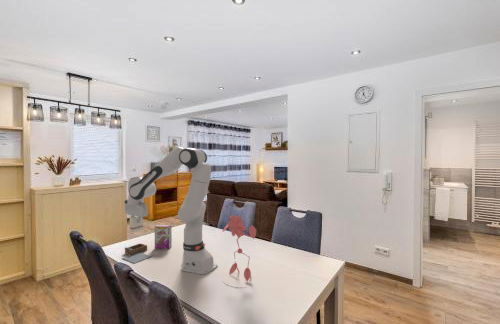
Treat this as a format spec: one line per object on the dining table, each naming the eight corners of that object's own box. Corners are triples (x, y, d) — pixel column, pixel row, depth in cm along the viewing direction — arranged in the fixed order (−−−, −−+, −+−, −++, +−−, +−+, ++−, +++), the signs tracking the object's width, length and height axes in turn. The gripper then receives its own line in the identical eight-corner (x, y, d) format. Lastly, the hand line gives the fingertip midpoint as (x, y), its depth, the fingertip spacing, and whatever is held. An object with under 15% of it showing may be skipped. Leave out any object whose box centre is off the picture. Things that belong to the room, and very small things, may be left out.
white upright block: (142, 229, 158) (142, 216, 158) (132, 232, 152) (132, 218, 152) (139, 228, 160) (139, 215, 160) (129, 231, 154) (129, 218, 154)
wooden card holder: (147, 250, 169) (147, 244, 169) (131, 255, 159) (131, 250, 159) (140, 247, 174) (140, 242, 174) (124, 253, 164) (124, 247, 164)
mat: (151, 256, 158) (151, 256, 158) (134, 263, 147) (134, 263, 147) (138, 252, 165) (138, 252, 165) (121, 258, 155) (121, 258, 155)
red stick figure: (229, 267, 142) (228, 209, 140) (263, 281, 124) (262, 216, 123) (209, 277, 130) (208, 214, 129) (244, 295, 113) (242, 222, 112)
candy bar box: (154, 248, 172) (154, 226, 172) (157, 246, 177) (157, 224, 177) (169, 249, 171) (168, 226, 171) (172, 246, 176) (171, 224, 176)
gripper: (149, 201, 153) (150, 223, 153) (131, 199, 164) (131, 219, 164) (141, 203, 148) (141, 225, 148) (122, 200, 158) (123, 221, 159)
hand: (136, 222), depth 156 cm, fingers closed on white upright block, 3 cm apart
